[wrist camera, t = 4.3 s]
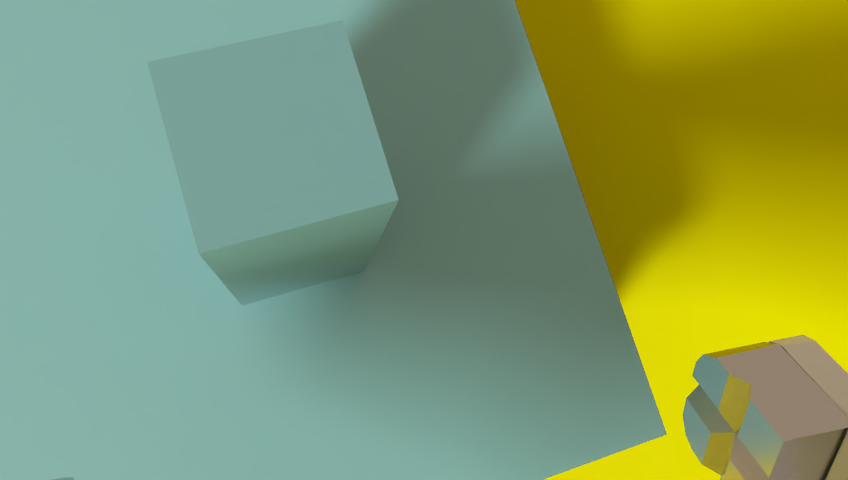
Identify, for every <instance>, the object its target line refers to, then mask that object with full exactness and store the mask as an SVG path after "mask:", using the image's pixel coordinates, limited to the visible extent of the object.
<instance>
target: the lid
mask: <svg viewBox="0 0 848 480" xmlns="http://www.w3.org/2000/svg"><path fill="white" fill-rule="evenodd" d="M663 435H666V431H665V428H664V425H663V422H662V419H661V417H660V414H659V411H658V408H657V405H656V402H655V400H654V397H653V394H652V391H651V388H650V385H649V382H648V380H647V377H646V374H645V371H644V368H643V365H642V362H641V360H640V357H639V354H638V351H637V348H636V345H635V342H634V340H633V337H632V334H631V331H630V328H629V325H628V323H627V320H626V317H625V314H624V311H623V308H622V305H621V303H620V300H619V297H618V294H617V291H616V288H615V285H614V283H613V280H612V277H611V274H610V271H609V268H608V266H607V263H606V260H605V257H604V254H603V251H602V248H601V246H600V243H599V240H598V237H597V234H596V231H595V228H594V226H593V223H592V220H591V217H590V214H589V211H588V208H587V206H586V203H585V200H584V197H583V194H582V191H581V189H580V186H579V183H578V180H577V177H576V174H575V171H574V169H573V166H572V163H571V160H570V157H569V154H568V151H567V149H566V146H565V143H564V140H563V137H562V134H561V131H560V129H559V126H558V123H557V120H556V117H555V114H554V112H553V109H552V106H551V103H550V100H549V97H548V94H547V92H546V89H545V86H544V83H543V80H542V77H541V74H540V72H539V69H538V66H537V63H536V60H535V57H534V54H533V52H532V49H531V46H530V43H529V40H528V37H527V35H526V32H525V29H524V26H523V23H522V20H521V17H520V15H519V12H518V9H517V6H516V3H515V0H0V480H53V479H59V478H65V477H73V478H74V480H543V479H546V478H548V477H551V476H554V475H556V474H559V473H562V472H565V471H567V470H570V469H573V468H576V467H578V466H581V465H584V464H587V463H589V462H592V461H595V460H598V459H600V458H603V457H606V456H609V455H611V454H614V453H617V452H620V451H622V450H625V449H628V448H630V447H633V446H636V445H639V444H641V443H644V442H647V441H650V440H652V439H655V438H658V437H661V436H663Z"/></svg>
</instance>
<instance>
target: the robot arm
mask: <svg viewBox="0 0 848 480" xmlns="http://www.w3.org/2000/svg"><path fill="white" fill-rule="evenodd" d="M693 377H694V378H695V379H696V381H697V382H698V383H699V385H698V387H697V388H696V389H695V390H694V391H693V392H692V393H691V394H690V395H689V396H688V397H687V398H686V402H685V407H684V412H683V420H684V426H685V433H686V436H687V438H688V441H689V443H690V446H691V448H692V450H693V451H694V453H695V455H696V456H697V458H698V459H699V461H700V462H701V464H702V465H704V466H706V467H708V468H709V469H711V470H713V471H715V472H716V473H718V474H720V475H721V479H720V480H848V373H847V372H846V371H845V370H844V369H843V368H842V367H841V366H840V365H839V364H838V363H837V362H836V361H835V360H834V359H833V358H832V357H831V356H830V355H829V354H828V353H827V352H826V351H825V350H824V349H823V348H822V347H821V346H820V345H819V344H818V343H817V342H816V341H814V340H813V339H811V338H809V337H807V336H805V335H800V336H795V337H790V338H785V339H779V340H774V341H770V342H762V343H757V344H752V345H747V346H742V347H737V348H732V349H727V350H723V351H718V352H713V353H708V354H703V355H702V356H701V357H700V358H699V359H698V361H697V362H696V365H695V368H694V372H693ZM53 480H74V478H73V477H65V478H59V479H53Z"/></svg>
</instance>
